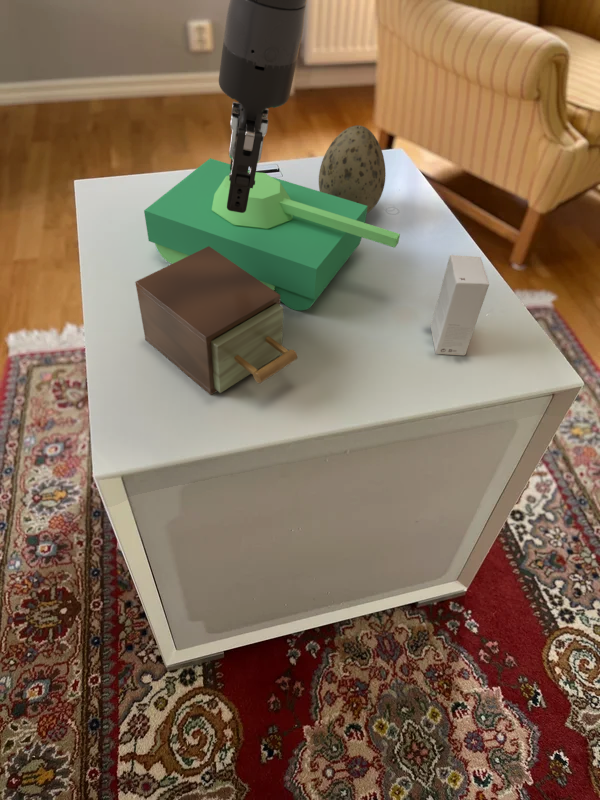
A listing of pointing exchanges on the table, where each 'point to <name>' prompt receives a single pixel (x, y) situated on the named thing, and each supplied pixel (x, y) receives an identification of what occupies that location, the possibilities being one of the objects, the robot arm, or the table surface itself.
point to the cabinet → (198, 308)
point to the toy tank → (263, 230)
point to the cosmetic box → (458, 304)
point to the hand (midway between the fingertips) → (237, 190)
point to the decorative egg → (354, 167)
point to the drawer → (250, 349)
